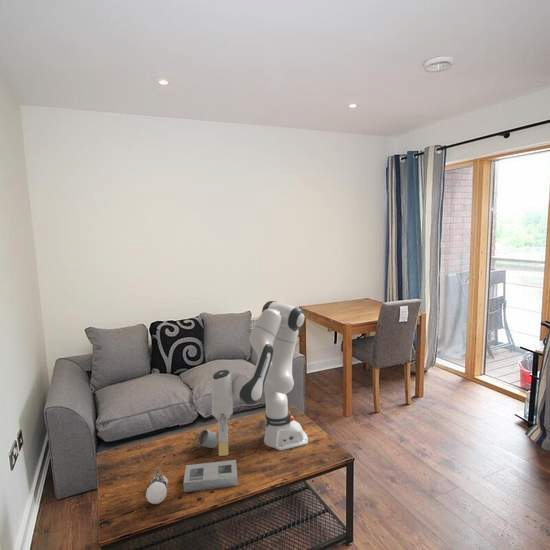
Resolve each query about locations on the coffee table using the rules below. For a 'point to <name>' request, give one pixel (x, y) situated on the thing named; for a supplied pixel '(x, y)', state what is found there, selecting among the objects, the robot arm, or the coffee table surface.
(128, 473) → the coffee table surface
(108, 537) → the coffee table surface
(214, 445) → the ceramic mug
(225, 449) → the plug
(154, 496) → the geometric ball
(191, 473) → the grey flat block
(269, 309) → the robot arm
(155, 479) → the house of cards
